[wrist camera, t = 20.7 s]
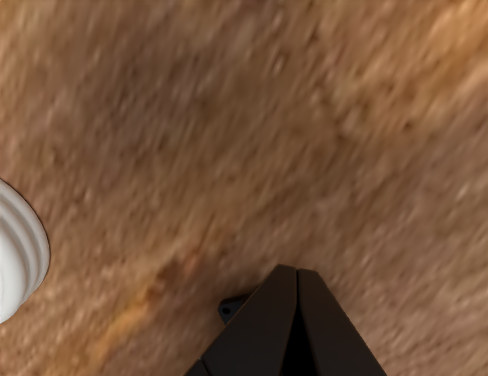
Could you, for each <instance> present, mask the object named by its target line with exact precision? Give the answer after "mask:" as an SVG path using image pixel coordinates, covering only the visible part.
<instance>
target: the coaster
mask: <svg viewBox="0 0 488 376" xmlns="http://www.w3.org/2000/svg"><path fill="white" fill-rule="evenodd" d="M49 260H50V251H49V244H48V240H47V237H46V233H45V231H44V229H43V226H42V224H41V222H40V221H39V219H38V217H37V216H36V214H35V213H34V211H33V210H32V209H31V207H30V206H29V205H28V203H27V202H26V201H25V200H24V199H23V198H22V197H21V196H20V195H19V194H18V193H17V192H16V191H15V190H14V189H13V188H11V187H10V186H9V185H7V184H6V183H5V182H3V181H2V180H1V179H0V324H1V323H2V322H4V321H6V320H7V319H9V318H10V317H11V316H12V315H14V314H15V312H16V311H17V310H18V308H19V307H20V306H21V305H22V304H23V303H24V302H25V301H26V300H27V299H28V298H29V296H30V295H31V294H32V293H33V292H34V291H35V290H36V289H37V288H38V287H39V285H40V284H41V283H42V281H43V279H44V277H45V275H46V272H47V269H48V266H49Z"/></svg>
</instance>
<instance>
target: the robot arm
mask: <svg viewBox="0 0 488 376" xmlns="http://www.w3.org/2000/svg"><path fill="white" fill-rule="evenodd" d="M225 308H229V309H230V310H227V309H225ZM218 312H219V314H220V316H221V318H222V320H223V322H224V323H225V325H226V326H225V327H224V328H223V329H222V331H221V332H220V333H219V334H218V335H217V337H216V338H215V339H214V340H213V341H212V343H211V344H210V345H209V346H208V347H207V349H206V350H205V351H204V352H203V353H202V354H201V356H200V357H199V359H197V360H196V361H195V362H194V364H193V365H192V366H191V367H190V368H189V370H188V371H187V372H186V373H185V374H184V375H183V376H387V374H386V373H385V372H384V370H383V369H382V367H381V366H380V364H379V363H378V361H377V360H376V358H375V357H374V355H373V354H372V352H371V351H370V349H369V348H368V346H367V345H366V343H365V342H364V340H363V339H362V337H361V336H360V334H359V333H358V331H357V330H356V328H355V327H354V325H353V324H352V323H351V321H350V320H349V318H348V317H347V315H346V314H345V312H344V311H343V309H342V308H341V306H340V305H339V303H338V302H337V300H336V299H335V297H334V296H333V294H332V293H331V291H330V290H329V288H328V287H327V285H326V284H325V282H324V281H323V279H322V278H321V276H320V275H319V274H318V272H316V271H313V270H307V269H302V268H299V269H298V270H297V269H296V268H295V267H292V266H287V265H282V264H278V265H276V266H275V267H274V269H273V270H272V271H271V272H270V273H269V275H268V276H267V277H266V278H265V279H264V281H263V282H262V283H261V284H260V285H259V287H258V288H257V289H256V290H255V291H254V293H251V294H246V295H244V296H239V297H235V298H231V299H226V300H223V301H221V302H220V305H219V308H218Z"/></svg>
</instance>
